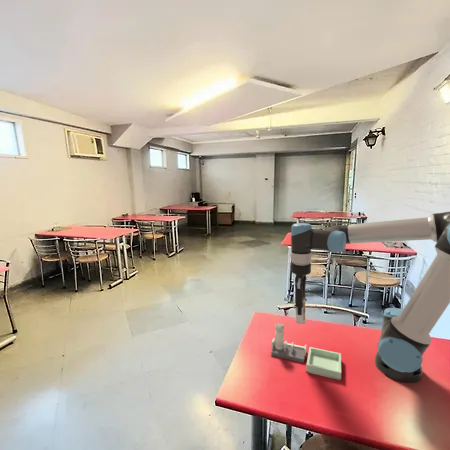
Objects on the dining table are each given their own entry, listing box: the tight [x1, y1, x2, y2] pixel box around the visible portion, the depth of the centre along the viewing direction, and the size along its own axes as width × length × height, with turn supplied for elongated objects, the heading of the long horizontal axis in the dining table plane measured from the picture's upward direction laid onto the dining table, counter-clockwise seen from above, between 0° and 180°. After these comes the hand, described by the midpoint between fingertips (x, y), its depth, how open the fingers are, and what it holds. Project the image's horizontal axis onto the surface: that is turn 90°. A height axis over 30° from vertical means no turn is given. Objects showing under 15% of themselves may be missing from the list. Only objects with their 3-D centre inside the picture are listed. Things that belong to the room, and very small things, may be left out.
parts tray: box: [305, 346, 342, 381], centre depth 103 cm, size 12×12×3 cm
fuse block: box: [270, 337, 308, 364], centre depth 111 cm, size 14×8×4 cm, turn 67°
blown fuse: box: [295, 297, 307, 325], centre depth 107 cm, size 4×4×10 cm
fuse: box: [274, 323, 285, 351], centre depth 112 cm, size 4×4×10 cm
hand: (300, 318), depth 107 cm, fingers closed on blown fuse, 4 cm apart
